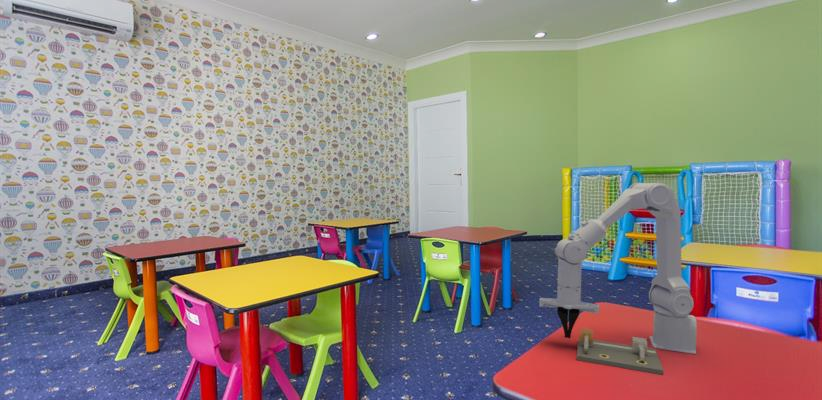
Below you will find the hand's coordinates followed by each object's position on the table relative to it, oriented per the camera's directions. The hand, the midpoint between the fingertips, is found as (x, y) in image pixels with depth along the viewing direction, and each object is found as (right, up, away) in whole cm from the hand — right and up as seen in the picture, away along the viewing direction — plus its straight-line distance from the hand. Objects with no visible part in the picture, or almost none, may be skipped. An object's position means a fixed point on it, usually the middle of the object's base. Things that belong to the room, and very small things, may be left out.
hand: (567, 336), depth 108 cm
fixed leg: (+14, -2, -9) cm, 17 cm away
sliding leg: (+3, -1, -4) cm, 5 cm away
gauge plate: (+10, -3, -6) cm, 12 cm away
